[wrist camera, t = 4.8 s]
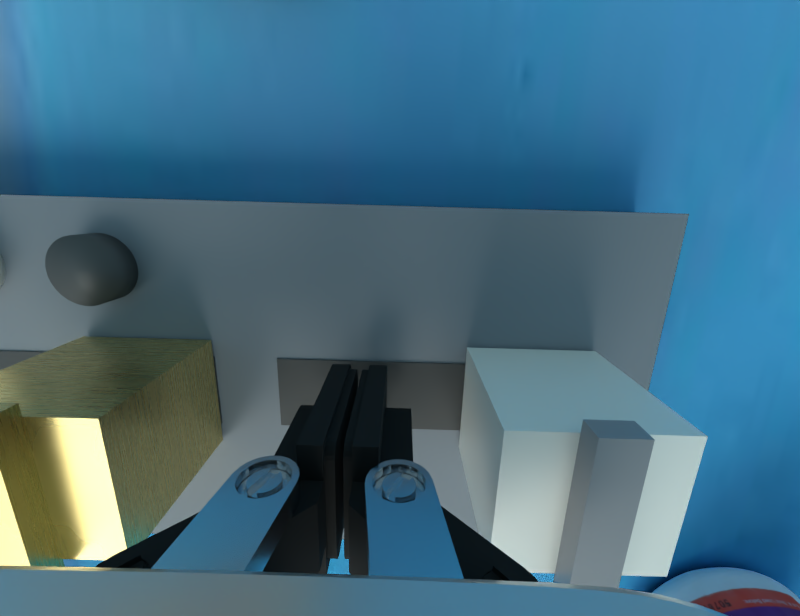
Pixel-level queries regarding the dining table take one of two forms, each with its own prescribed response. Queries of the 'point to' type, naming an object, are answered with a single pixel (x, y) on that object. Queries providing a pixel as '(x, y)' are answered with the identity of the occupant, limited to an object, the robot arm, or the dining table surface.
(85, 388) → the brass knob
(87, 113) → the dining table surface
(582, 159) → the dining table surface
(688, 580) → the pill bottle
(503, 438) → the ivory knob
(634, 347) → the console
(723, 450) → the dining table surface
